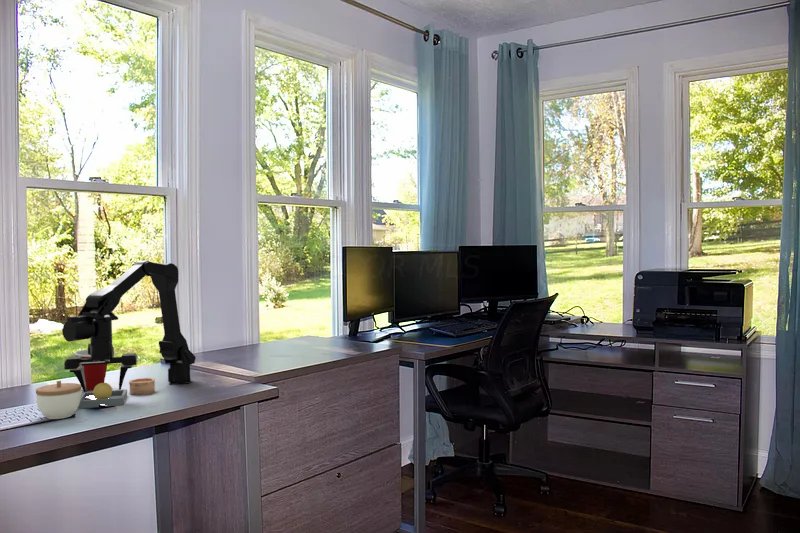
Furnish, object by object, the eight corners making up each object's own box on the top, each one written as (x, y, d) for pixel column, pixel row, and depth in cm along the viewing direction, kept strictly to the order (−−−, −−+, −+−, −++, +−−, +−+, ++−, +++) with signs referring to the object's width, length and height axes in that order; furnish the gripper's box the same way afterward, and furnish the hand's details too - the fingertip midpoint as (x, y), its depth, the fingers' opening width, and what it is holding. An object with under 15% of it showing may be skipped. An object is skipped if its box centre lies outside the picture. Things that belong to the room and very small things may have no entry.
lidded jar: (50, 423, 163) (50, 386, 163) (28, 418, 168) (27, 382, 168) (90, 414, 172) (89, 379, 172) (67, 409, 178) (66, 375, 177)
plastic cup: (94, 393, 197) (93, 354, 197) (66, 391, 200) (65, 353, 200) (120, 386, 207) (119, 349, 207) (93, 384, 210) (92, 347, 210)
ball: (113, 397, 188) (112, 380, 188) (111, 401, 184) (111, 383, 184) (94, 398, 187) (94, 381, 187) (92, 402, 182) (91, 385, 182)
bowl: (155, 388, 203) (155, 377, 202) (154, 393, 196) (154, 381, 196) (130, 390, 200) (130, 379, 200) (128, 395, 193) (128, 383, 193)
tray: (127, 395, 193) (127, 389, 193) (123, 405, 182) (123, 398, 181) (83, 399, 189) (83, 392, 189) (76, 408, 178) (76, 401, 178)
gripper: (138, 331, 195) (139, 382, 196) (70, 335, 189) (71, 387, 190) (135, 336, 185) (136, 390, 185) (63, 340, 179) (64, 395, 179)
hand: (102, 390), depth 185 cm, fingers open, 9 cm apart
